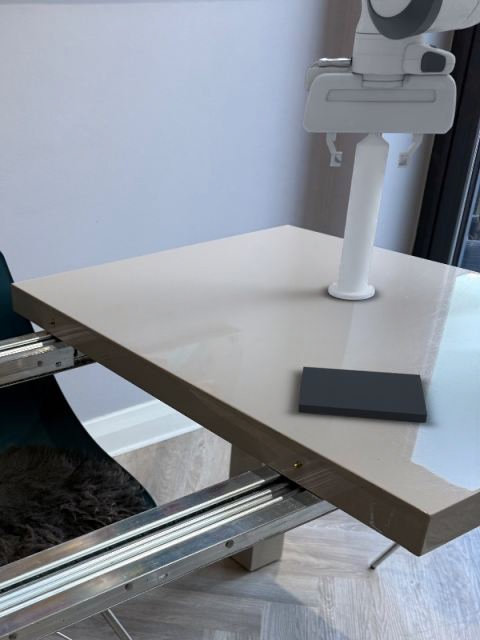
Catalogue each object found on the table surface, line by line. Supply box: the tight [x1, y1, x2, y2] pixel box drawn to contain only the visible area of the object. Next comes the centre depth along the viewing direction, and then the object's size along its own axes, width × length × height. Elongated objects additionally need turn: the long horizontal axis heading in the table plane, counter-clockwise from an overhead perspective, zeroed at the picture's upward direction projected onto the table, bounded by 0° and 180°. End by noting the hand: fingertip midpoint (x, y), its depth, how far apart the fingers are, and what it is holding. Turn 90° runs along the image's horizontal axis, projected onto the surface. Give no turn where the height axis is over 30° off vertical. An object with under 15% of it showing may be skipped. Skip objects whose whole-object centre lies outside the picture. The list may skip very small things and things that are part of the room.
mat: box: [297, 366, 428, 423], centre depth 94 cm, size 14×11×1 cm
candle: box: [327, 133, 390, 301], centre depth 117 cm, size 7×7×25 cm
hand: (368, 166), depth 114 cm, fingers open, 8 cm apart
